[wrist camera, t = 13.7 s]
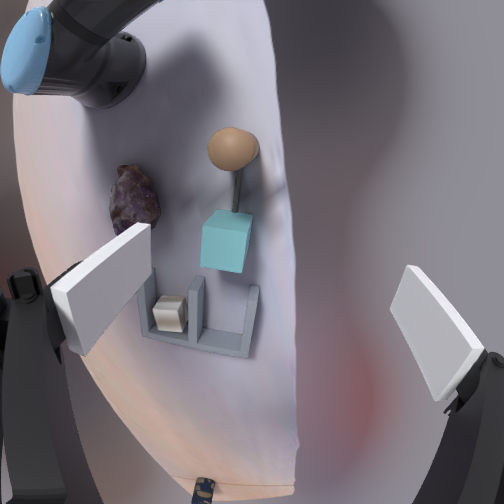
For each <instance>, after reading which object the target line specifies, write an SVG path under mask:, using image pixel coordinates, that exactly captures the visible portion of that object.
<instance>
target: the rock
mask: <svg viewBox="0 0 504 504" xmlns="http://www.w3.org/2000/svg"><path fill="white" fill-rule="evenodd" d="M117 171H118V175H119V179H118V181H117V182H116V183H115V184H114V185H113V186H112V190H111V192H112V197H111V198H110V207H109V210H110V216H111V219H112V222H113V228H114V229H115V234H116V235H117V236H118V235H120V234H121V233H123V232H124V231H125V230H127V229H128V228H130V227H131V226H133V225H134V224H136V223H137V222H138V223H145V224H151V229H153V228H154V227H155V225H156V222H157V220H158V219H159V217H160V215H161V209H160V206H159V202H158V198H157V195H156V193H155V191H154V186H153V181H152V178H150V177H147V176H145V175H144V174H143V172H142V171H141V169H140V168H138V167H137V166H135V165H134V164H132V165H129V166H128V165H122V166H119V167H117Z"/></svg>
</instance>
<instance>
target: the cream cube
mask: <svg viewBox="0 0 504 504" xmlns="http://www.w3.org/2000/svg"><path fill="white" fill-rule="evenodd" d="M153 313H154V316H155V320H156V323H157V327H158V330H161V331H172V332H183V330H184V327H185V325H186V323H187V321H188V309H187V304H186V299H185V296H163V295H162V296H161V297H160V299H159V300H158V302H157V303H156V305H155V306H154V308H153Z"/></svg>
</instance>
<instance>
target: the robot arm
mask: <svg viewBox="0 0 504 504" xmlns="http://www.w3.org/2000/svg"><path fill="white" fill-rule="evenodd" d="M162 1H163V0H53V1H52V2H51V3H50V4H49V6H48V7H47V8H46V7H44V6H43V7H42V6H41V7H36V8H33V9H31V10H30V11H29V12H27V13H25V14H24V15H23V16H22V18H21V19H20V20H19V21H18V22H17V24H16V25H15V27H14V28H13V30H12V32H11V34H10V36H9V38H8V40H7V42H6V45H5V48H4V51H3V56H2V61H1V79H2V83H3V85H4V87H5V88H6V89H7V90H8V91H9V92H12V93H19V94H25V95H63V96H71V97H73V98H74V99H76V100H77V101H79V102H80V103H81V104H83V105H85V106H87V107H91V108H108V107H111V106H114V105H116V104H118V103H119V102H121V101H122V100H124V99H125V98H126V97H127V96H128V95H129V94H130V93H131V92H132V91H133V89H134V88H135V87H136V85H137V84H138V82H139V80H140V78H141V76H142V74H143V71H144V67H145V60H146V55H145V49H144V47H143V45H142V43H141V42H140V40H139V39H137V38H136V37H135V36H133V35H131V34H129V33H127V32H123V31H121V30H123V29H124V28H125V27H126V26H127V25H129V24H130V23H131V22H132V21H134V20H135V19H136V18H138V17H139V16H140V15H142V14H143V13H144V12H146V11H147V10H148V9H150V8H151V7H153V6H154V5H155V4H157V3H158V2H159V3H160V2H162ZM151 274H152V268H151V224H145V223H138V222H137V223H136V224H134V225H133V226H131V227H130V228H128V229H127V230H125V231H124V232H123V233H121V234H120V235H118V236H117V237H115V238H114V239H113V240H111V241H110V242H108V243H107V244H106V245H104V246H103V247H101V248H100V249H99V250H97V251H96V252H95V253H93V254H92V255H91V256H89V257H88V258H87V259H85V260H83V261H80V262H78V263H76V264H74V265H72V266H71V267H70V268H68V269H67V271H65V272H63V273H62V274H61V276H58V277H57V278H56V279H54V280H53V281H52V282H51V283H50V284H48V285H47V286H46V287H45V288H44V289H42V285H41V281H40V277H39V273H38V270H36V269H35V268H31V267H28V268H22V269H18V270H16V271H14V272H13V273H12V274H10V275H9V276H8V278H7V282H8V286H9V289H10V293H11V296H12V299H11V298H5V296H4V293H3V290H2V288H1V287H0V504H2V501H1V459H2V446H3V436H4V446H5V454H6V460H7V466H8V472H9V477H10V482H11V486H12V492H13V497H12V499H11V500H10V501H8V502H6V504H104V503H103V501H102V499H101V497H100V494H99V492H98V489H97V487H96V485H95V482H94V480H93V477H92V474H91V472H90V469H89V466H88V464H87V460H86V457H85V454H84V451H83V448H82V445H81V441H80V438H79V434H78V430H77V427H76V423H75V419H74V415H73V410H72V405H71V401H70V395H69V390H68V384H67V378H66V372H65V363H64V355H63V350H62V347H61V343H62V342H63V341H64V340H65V339H66V341H67V343H68V346H69V349H70V350H71V351H73V352H75V353H78V354H80V355H82V356H85V357H86V355H87V354H88V353H89V351H90V350H91V348H92V347H93V346H94V344H95V343H96V342H97V340H98V339H99V338H100V337H101V335H102V334H103V333H104V331H105V330H106V329H107V327H108V326H109V325H110V324H111V322H112V321H113V320H114V319H115V317H116V316H117V315H118V314H119V312H120V311H121V310H122V309H123V307H124V306H125V305H126V304H127V302H128V301H129V300H130V299H131V297H132V296H133V295H134V294H135V293H136V291H137V290H138V289H139V288H140V287H141V285H142V284H143V283H144V282H145V281H146V279H147V278H148V277H149V276H150V275H151ZM390 311H391V313H392V314H393V316H394V318H395V320H396V322H397V324H398V325H399V327H400V329H401V331H402V333H403V335H404V337H405V339H406V341H407V343H408V345H409V347H410V349H411V351H412V353H413V355H414V357H415V359H416V361H417V363H418V365H419V368H420V370H421V372H422V374H423V376H424V378H425V381H426V383H427V385H428V387H429V390H430V392H431V394H432V397H433V399H434V401H439V400H445V399H448V398H449V396H450V395H451V394H452V393H453V392H454V390H455V389H456V390H457V392H458V396H457V397H456V398H455V399H454V400H453V401H452V403H451V404H450V405H449V406H448V407H447V408H446V409H445V411H444V414H445V413H446V412H447V411H448V410H451V412H450V413H449V414H448V416H449V418H448V422H447V425H446V428H445V431H444V434H443V437H442V439H441V442H440V445H439V447H438V450H437V453H436V455H435V458H434V460H433V462H432V465H431V467H430V469H429V472H428V474H427V476H426V478H425V480H424V482H423V484H422V486H421V488H420V490H419V492H418V494H417V496H416V498H415V500H414V501H413V503H412V504H504V358H503V356H501V355H500V354H498V353H496V352H490V353H487V351H486V350H485V348H484V347H483V346H482V344H481V342H480V341H479V340H478V338H477V337H476V336H475V334H474V333H473V331H472V330H471V329H470V328H469V326H468V325H467V324H466V322H465V321H464V320H463V319H462V317H461V316H460V315H459V313H458V312H457V311H456V310H455V308H454V307H453V306H452V305H451V304H450V302H449V301H448V300H447V299H446V298H445V296H444V295H443V294H442V293H441V292H440V291H439V289H438V288H437V287H436V286H435V285H434V284H433V283H432V281H431V280H430V279H429V278H428V277H427V276H426V275H425V274H424V273H423V271H422V270H421V269H420V268H419V267H417V266H411V265H407V266H406V268H405V271H404V274H403V277H402V280H401V282H400V284H399V287H398V290H397V292H396V295H395V297H394V300H393V302H392V304H391V307H390Z"/></svg>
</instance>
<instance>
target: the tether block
mask: <svg viewBox="0 0 504 504" xmlns="http://www.w3.org/2000/svg"><path fill="white" fill-rule="evenodd" d="M258 152H259V142H258V140H257V138H256V137H255V136H254V135H253V134H251V133H249V132H246V131H243V130H240V129H237V128H230V127H229V128H224V129H221V130H219V131H217V132H216V133H215V134H214V135H213V136H212V138H211V139H210V141H209V144H208V155H209V158H210V160H211V162H212V163H213V164H214V165H215V166H216V167H218V168H219V169H221V170H224V171H236V170H237V175H236V183H235V191H234V199H233V208H232V211H226V210H218V209H216V211H215V212H214V213H213V214H212V215H211V216H210V218H209V219H208V220H207V221H206V222H205V224H204V225H203V226H202V238H201V254H200V267H206V268H212V269H217V270H223V271H229V272H235V273H242V271H243V267H244V263H245V260H246V256H247V252H248V248H249V241H250V234H251V227H252V219H253V214H246V213H239V212H237V207H238V199H239V191H240V183H241V175H242V168H243V167H244V166H245V165H246V164H248V163H249V162H250V161H252V160H253V159H254V158H255V157H256V156H257V154H258Z"/></svg>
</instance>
